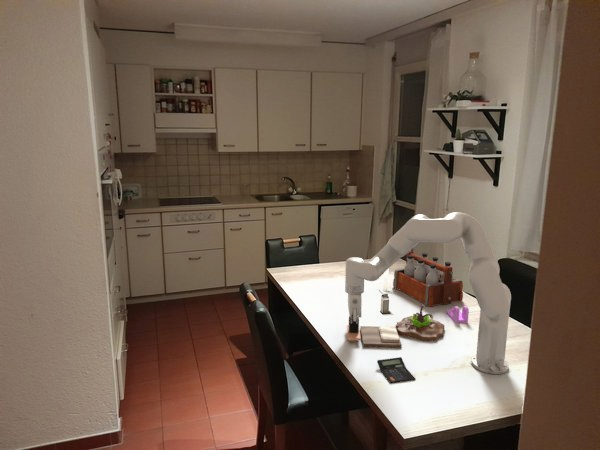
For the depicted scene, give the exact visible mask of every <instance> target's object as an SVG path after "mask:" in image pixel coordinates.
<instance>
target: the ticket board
mask: <svg viewBox="0 0 600 450" xmlns="http://www.w3.org/2000/svg"><path fill="white" fill-rule="evenodd" d="M359 331H360V337H361V341H362V347H363V348H386V349H387V348H391V349H392V348H394V349H402V341H401V339H400V338H401V337H400V335H399V334H398V332H397V329H396V326H382V325H381V326H372V325H371V326H367V325H366V326H365V325H361V326H360V325H359Z"/></svg>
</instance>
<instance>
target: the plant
mask: <svg viewBox="0 0 600 450" xmlns="http://www.w3.org/2000/svg"><path fill="white" fill-rule="evenodd" d="M425 306H426V305H425V304H421V306H420V309H419V310H420V311H419V312H416V313H413V314H412V315H410V316H407V317H403V318H402V319H401V321H397V322H396V324H395V327H396V329H397V332H398V335H399V336H400V337H405V338H411V339H415V340H419V341H421V342H437V341H438V339H442V338H443V337H444V334H445V333H444V332H445V324H443V323H441V322H440V321H438V320H436V319H434V315H432V314H431V313H425V314H423V309H425Z"/></svg>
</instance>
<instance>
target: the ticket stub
mask: <svg viewBox="0 0 600 450" xmlns="http://www.w3.org/2000/svg"><path fill="white" fill-rule="evenodd" d="M359 318H360V317H358V332H357V333H353V332H350V323H351V317H350V316H348V324H347V325H346V333H347V340H348V341H362V336H361V330H360V319H359ZM352 319H353V318H352Z"/></svg>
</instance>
